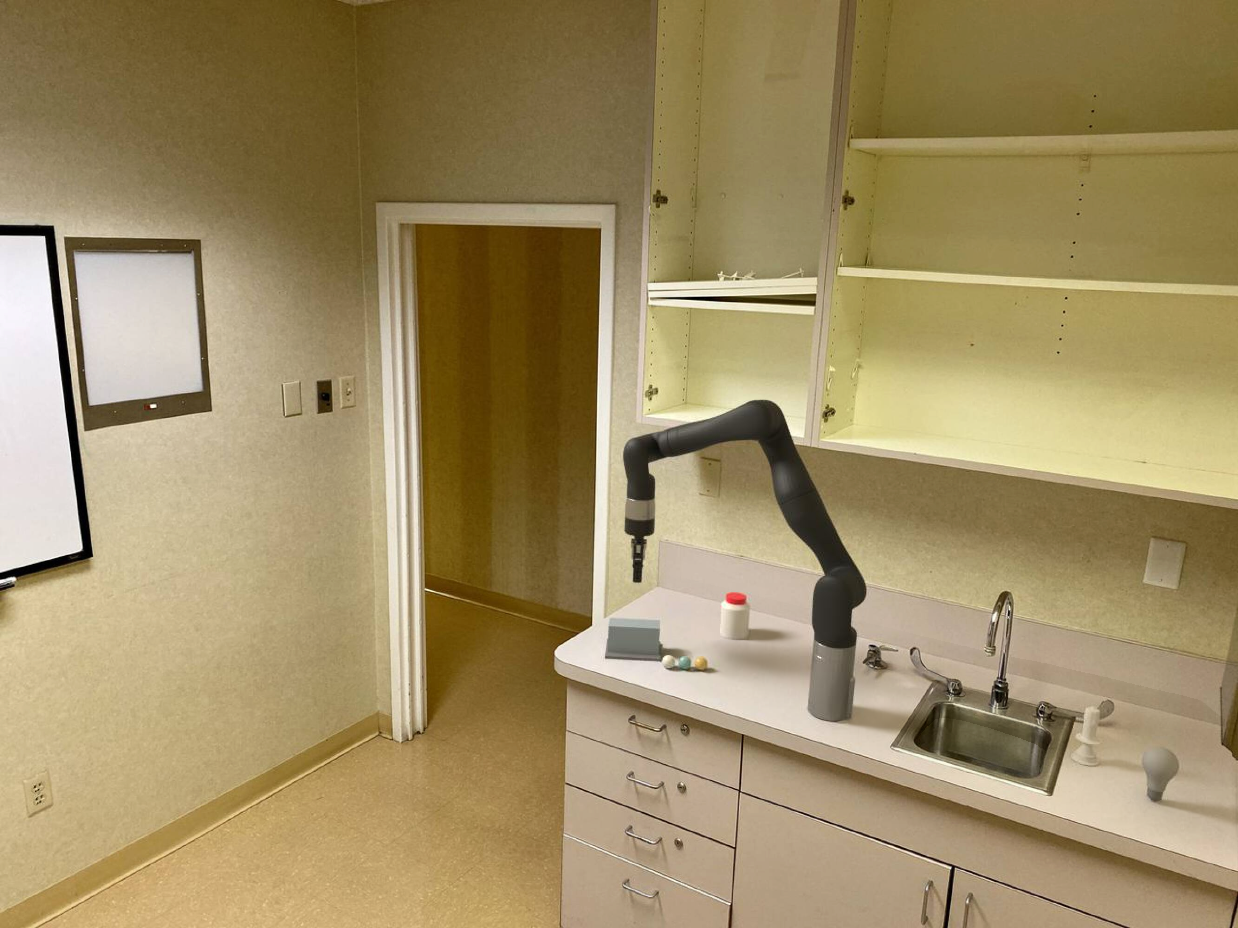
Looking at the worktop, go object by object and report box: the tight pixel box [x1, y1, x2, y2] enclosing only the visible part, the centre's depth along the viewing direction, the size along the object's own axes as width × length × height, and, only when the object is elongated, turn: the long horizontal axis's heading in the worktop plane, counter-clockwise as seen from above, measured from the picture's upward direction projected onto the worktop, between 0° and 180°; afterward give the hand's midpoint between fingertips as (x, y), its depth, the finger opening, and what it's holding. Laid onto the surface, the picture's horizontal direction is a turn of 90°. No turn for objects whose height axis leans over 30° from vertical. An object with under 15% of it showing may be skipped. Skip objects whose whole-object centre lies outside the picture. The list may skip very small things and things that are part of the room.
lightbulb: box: [1141, 745, 1180, 802], centre depth 172 cm, size 6×6×11 cm
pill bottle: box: [719, 591, 751, 641], centre depth 244 cm, size 8×8×11 cm
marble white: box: [661, 654, 676, 669], centre depth 223 cm, size 3×3×3 cm
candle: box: [1070, 705, 1102, 767], centre depth 186 cm, size 5×5×12 cm
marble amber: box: [694, 656, 708, 671], centre depth 223 cm, size 3×3×3 cm
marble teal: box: [678, 655, 692, 670], centre depth 223 cm, size 3×3×3 cm
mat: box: [604, 638, 661, 662], centre depth 232 cm, size 14×11×1 cm
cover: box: [607, 617, 661, 654], centre depth 231 cm, size 13×6×7 cm, turn 88°
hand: (637, 576), depth 228 cm, fingers open, 8 cm apart
